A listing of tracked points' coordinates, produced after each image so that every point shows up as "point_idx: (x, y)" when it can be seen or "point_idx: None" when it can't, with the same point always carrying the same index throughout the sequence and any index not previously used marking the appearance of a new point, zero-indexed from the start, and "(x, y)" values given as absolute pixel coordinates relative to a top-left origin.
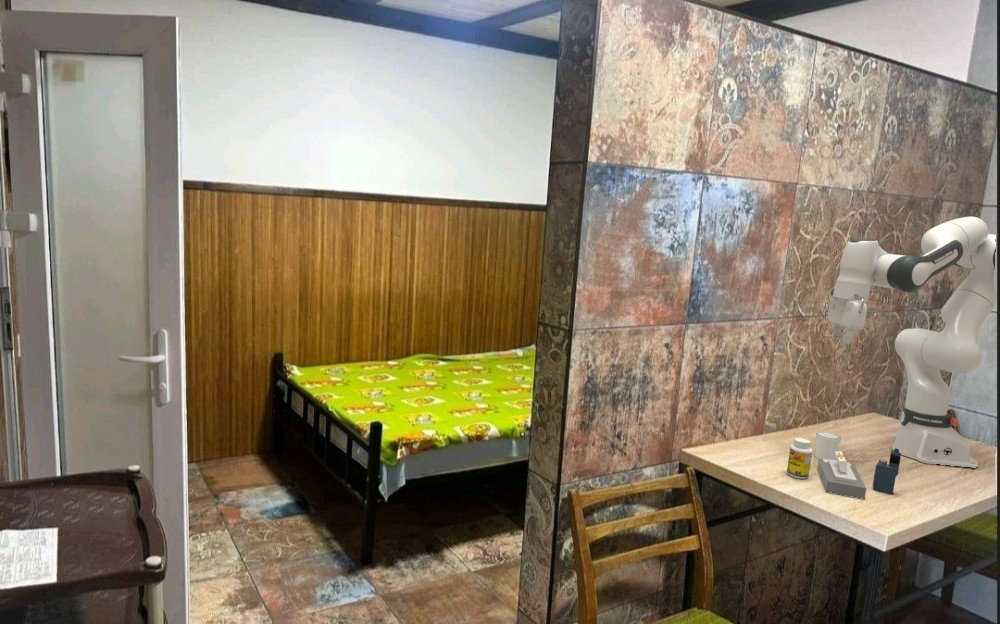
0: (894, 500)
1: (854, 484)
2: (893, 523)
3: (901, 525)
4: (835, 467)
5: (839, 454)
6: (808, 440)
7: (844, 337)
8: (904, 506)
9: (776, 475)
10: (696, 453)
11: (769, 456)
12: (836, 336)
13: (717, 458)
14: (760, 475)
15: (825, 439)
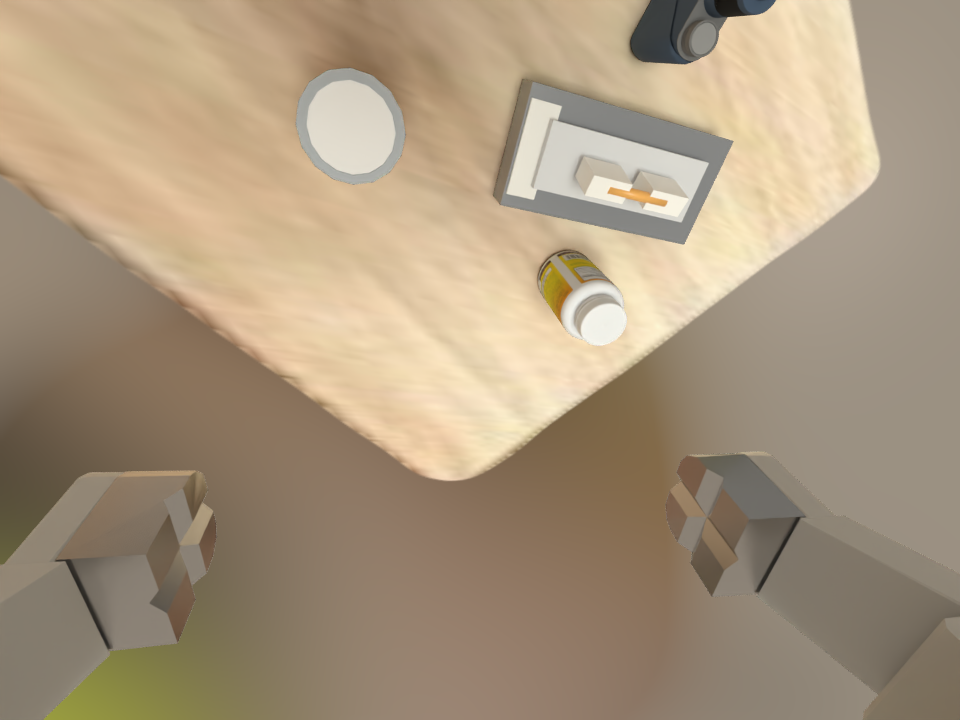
0: None
1: (706, 169)
2: (846, 122)
3: (859, 104)
4: None
5: (624, 195)
6: (605, 308)
7: (766, 585)
8: None
9: None
10: (466, 469)
11: (424, 315)
12: (185, 544)
13: (486, 434)
14: (577, 363)
15: (398, 158)
